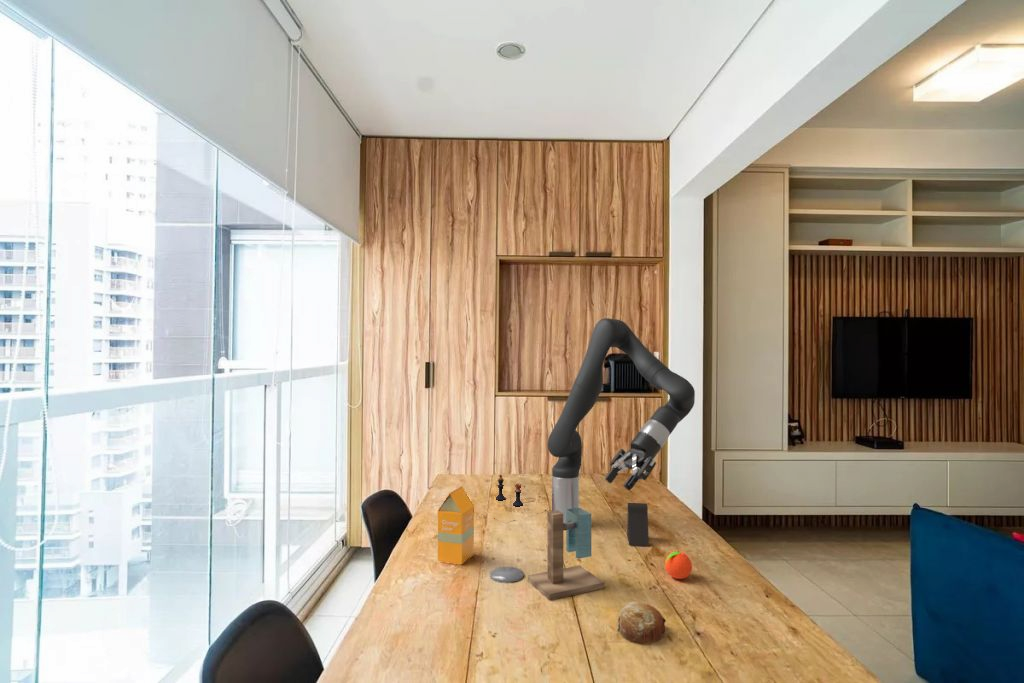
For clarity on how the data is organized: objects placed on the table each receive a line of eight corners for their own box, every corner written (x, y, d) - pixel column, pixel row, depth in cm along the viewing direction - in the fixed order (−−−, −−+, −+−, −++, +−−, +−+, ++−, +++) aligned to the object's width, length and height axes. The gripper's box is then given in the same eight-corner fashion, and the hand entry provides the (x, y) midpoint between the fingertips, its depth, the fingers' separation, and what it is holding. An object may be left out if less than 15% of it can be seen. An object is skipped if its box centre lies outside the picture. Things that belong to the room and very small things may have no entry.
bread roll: (620, 637, 122) (605, 605, 122) (660, 615, 123) (645, 584, 122) (633, 662, 112) (617, 628, 112) (677, 639, 113) (661, 604, 112)
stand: (527, 581, 142) (527, 508, 143) (579, 570, 149) (579, 501, 149) (549, 600, 132) (549, 521, 132) (604, 588, 138) (604, 513, 139)
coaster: (485, 572, 148) (485, 570, 148) (515, 566, 152) (515, 564, 152) (498, 585, 140) (498, 582, 140) (529, 579, 144) (529, 576, 144)
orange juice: (474, 554, 161) (474, 486, 162) (461, 565, 153) (462, 494, 153) (450, 551, 164) (450, 484, 164) (437, 561, 155) (437, 492, 156)
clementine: (675, 586, 139) (675, 558, 139) (656, 576, 146) (656, 549, 146) (697, 580, 143) (697, 553, 143) (678, 570, 149) (678, 544, 149)
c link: (566, 550, 144) (566, 509, 144) (579, 548, 146) (579, 507, 146) (578, 558, 139) (578, 515, 139) (591, 556, 140) (591, 513, 140)
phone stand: (648, 547, 167) (648, 508, 167) (629, 546, 168) (628, 507, 168) (645, 537, 176) (645, 500, 176) (627, 536, 177) (626, 499, 177)
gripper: (626, 427, 158) (593, 470, 153) (659, 434, 145) (624, 481, 140) (641, 444, 160) (609, 487, 155) (675, 452, 147) (641, 499, 142)
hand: (616, 484), depth 147 cm, fingers open, 8 cm apart
